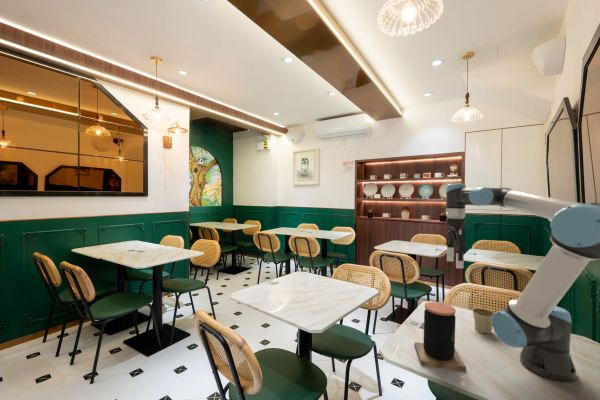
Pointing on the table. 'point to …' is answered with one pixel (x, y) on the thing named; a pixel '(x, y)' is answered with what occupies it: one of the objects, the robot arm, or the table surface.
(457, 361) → the walnut board
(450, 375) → the table surface
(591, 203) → the robot arm
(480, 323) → the flower pot
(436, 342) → the coffee jar
